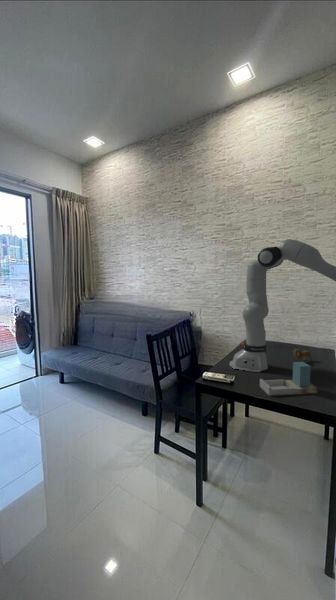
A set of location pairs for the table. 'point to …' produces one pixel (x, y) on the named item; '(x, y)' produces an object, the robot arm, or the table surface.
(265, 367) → the robot arm
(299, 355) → the lion figurine
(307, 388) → the birch plate
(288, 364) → the table surface
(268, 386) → the box
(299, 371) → the teal block
